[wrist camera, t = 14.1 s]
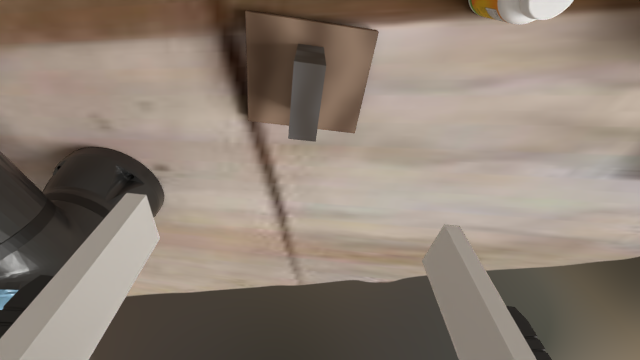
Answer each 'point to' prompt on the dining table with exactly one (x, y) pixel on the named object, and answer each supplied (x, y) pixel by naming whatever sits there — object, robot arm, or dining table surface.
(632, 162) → the dining table surface
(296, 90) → the walnut lid
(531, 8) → the supplement bottle
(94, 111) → the dining table surface
